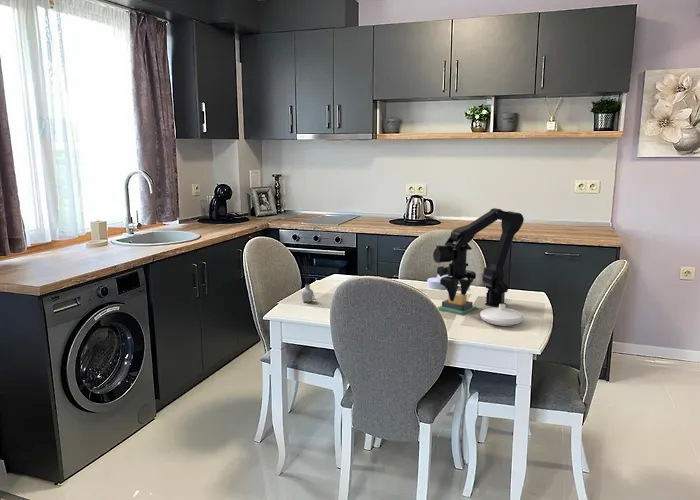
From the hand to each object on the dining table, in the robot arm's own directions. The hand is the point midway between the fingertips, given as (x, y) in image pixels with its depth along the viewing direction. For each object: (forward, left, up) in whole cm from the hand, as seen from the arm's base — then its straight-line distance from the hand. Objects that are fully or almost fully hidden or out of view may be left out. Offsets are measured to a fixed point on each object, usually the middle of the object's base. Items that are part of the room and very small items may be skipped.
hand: (457, 298), depth 223 cm
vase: (-21, +4, -5) cm, 22 cm away
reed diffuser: (+54, +32, -4) cm, 63 cm away
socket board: (0, 0, -4) cm, 4 cm away
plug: (0, 0, -3) cm, 3 cm away
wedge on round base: (+23, -26, -5) cm, 35 cm away
